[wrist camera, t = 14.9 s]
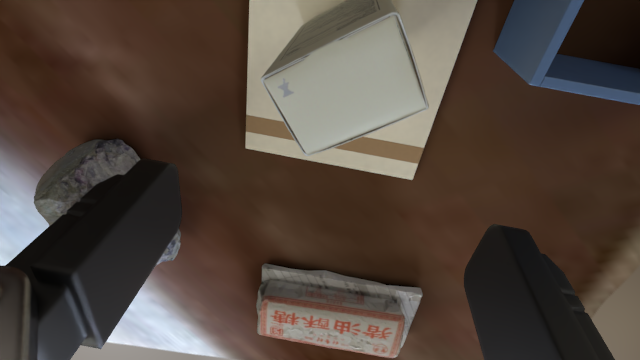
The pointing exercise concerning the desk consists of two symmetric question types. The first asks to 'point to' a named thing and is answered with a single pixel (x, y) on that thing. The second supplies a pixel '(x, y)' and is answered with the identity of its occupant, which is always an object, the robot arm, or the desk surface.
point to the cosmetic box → (346, 76)
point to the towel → (378, 147)
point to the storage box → (555, 69)
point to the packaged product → (335, 310)
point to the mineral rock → (87, 180)
